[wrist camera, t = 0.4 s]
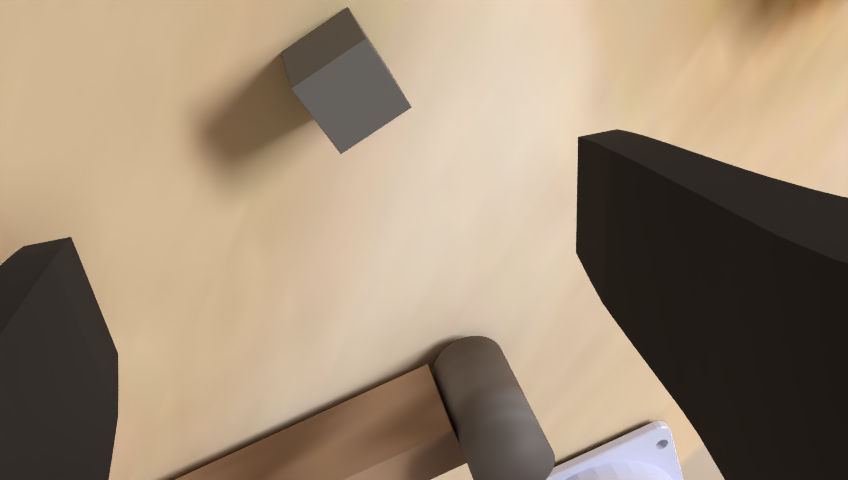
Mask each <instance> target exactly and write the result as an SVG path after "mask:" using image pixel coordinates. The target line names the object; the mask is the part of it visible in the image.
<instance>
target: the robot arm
mask: <svg viewBox="0 0 848 480" xmlns="http://www.w3.org/2000/svg"><path fill="white" fill-rule="evenodd" d="M576 253H577V255H578V257H579V259H580V261H581V263H582V265H583V267H584V269H585V271H586V273H587V275H588V277H589V279H590V281H591V283H592V285H593V286H594V288H595V290H596V292H597V294H598V295H599V297H600V299H601V301H602V303H603V304H604V306H605V307H606V308H607V310H608V311H609V313H610V314H611V315H612V317H613V318H614V320H615V321H616V322H617V324H618V325H619V326H620V328H621V329H622V331H623V332H624V333H625V335H626V336H627V337H628V339H629V340H630V341H631V343H632V344H633V345H634V347H635V348H636V349H637V351H638V352H639V353H640V355H641V356H642V357H643V359H644V360H645V361H646V363H647V364H648V365H649V367H650V368H651V369H652V371H653V372H654V373H655V375H656V376H657V377H658V379H659V380H660V381H661V383H662V384H663V385H664V387H665V388H666V390H667V391H668V392H669V394H670V395H671V396H672V398H673V399H674V400H675V402H676V403H677V404H678V406H679V407H680V408H681V410H682V411H683V412H684V414H685V415H686V417H687V418H688V420H689V421H690V423H691V424H692V426H693V427H694V429H695V430H696V432H697V433H698V435H699V436H700V438H701V440H702V441H703V443H704V445H705V446H706V448H707V450H708V451H709V453H710V455H711V456H712V458H713V460H714V462H715V463H716V465H717V467H718V468H719V470H720V472H721V474H722V475H723V477H724V479H725V480H848V198H846V197H841V196H837V195H833V194H829V193H825V192H821V191H817V190H813V189H809V188H806V187H802V186H799V185H795V184H792V183H788V182H785V181H781V180H778V179H774V178H770V177H767V176H764V175H761V174H758V173H754V172H751V171H748V170H745V169H742V168H739V167H736V166H733V165H730V164H727V163H724V162H721V161H718V160H715V159H712V158H709V157H706V156H703V155H700V154H697V153H694V152H691V151H688V150H685V149H683V148H680V147H677V146H674V145H671V144H668V143H665V142H662V141H659V140H656V139H652V138H649V137H646V136H643V135H639V134H636V133H632V132H628V131H623V130H611V131H606V132H601V133H596V134H591V135H586V136H581V137H578V177H577V232H576ZM117 419H118V353H117V350H116V348H115V345H114V343H113V340H112V338H111V335H110V333H109V330H108V328H107V325H106V323H105V320H104V318H103V315H102V313H101V310H100V308H99V305H98V303H97V300H96V298H95V295H94V293H93V290H92V288H91V285H90V283H89V280H88V278H87V275H86V273H85V270H84V268H83V266H82V263H81V261H80V258H79V256H78V253H77V251H76V248H75V246H74V243H73V241H72V238H71V237H68V238H63V239H58V240H53V241H48V242H43V243H38V244H33V245H28V246H23V247H22V248H21V249H19V250H18V251H17V252H15V253H14V254H13V255H12V256H11V257H9V258H8V259H7V260H6V261H5V262H4V263H3V264H2V265H1V266H0V480H108V479H109V473H110V466H111V460H112V453H113V446H114V440H115V433H116V426H117ZM546 480H683V476H682V472H681V468H680V464H679V460H678V457H677V453H676V449H675V445H674V441H673V437H672V434H671V430H670V429H669V427H668V426H667V424H666V423H665V422H663V421H655V422H652V423H650V424H648V425H645V426H643V427H641V428H639V429H637V430H635V431H632V432H630V433H628V434H626V435H624V436H622V437H619V438H617V439H615V440H613V441H611V442H608V443H606V444H604V445H602V446H600V447H598V448H595V449H593V450H591V451H589V452H587V453H584V454H582V455H580V456H578V457H576V458H574V459H571V460H569V461H567V462H565V463H563V464H560V465H558V466H556V467H554V468H553V469H552V472H551V473H550V475H549V476H548V478H547V479H546Z"/></svg>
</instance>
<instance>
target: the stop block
mask: <svg viewBox="0 0 848 480" xmlns="http://www.w3.org/2000/svg"><path fill="white" fill-rule="evenodd" d="M281 54H282V58H283V61H284V65H285V68H286V72H287V76H288V79H289V83H290V86H291V89H292V90H293V92H294V93H295V94H296V96H297V97H298V98H299V100H300V101H301V102H302V104H303V105H304V106H305V108H306V109H307V110H308V112H309V113H310V114H311V115H312V117H313V118H314V119H315V121H316V122H317V123H318V125H319V126H320V127H321V129H322V130H323V131H324V133H325V134H326V135H327V137H328V138H329V139H330V141H331V142H332V143H333V145H334V146H335V147H336V148H337V150H338V151H339V152H340V154H342V153H343V152H345V151H346V150H348V149H349V148H351V147H352V146H354V145H355V144H357V143H358V142H360V141H361V140H363V139H364V138H366V137H367V136H369V135H370V134H372V133H373V132H375V131H376V130H378V129H380V128H381V127H383V126H384V125H386V124H387V123H389V122H390V121H392V120H393V119H395V118H396V117H398V116H399V115H401V114H402V113H404V112H405V111H407V110H408V109H410V108H411V106H410V104H409V102H408V101H407V99H406V97H405V96H404V94H403V92H402V91H401V89H400V87H399V86H398V84H397V83H396V81H395V79H394V78H393V76H392V74H391V73H390V71H389V69H388V68H387V66H386V65H385V63H384V62H383V60H382V59H381V57H380V56H379V54H378V53H377V51H376V50H375V48H374V47H373V45H372V43H371V42H370V40H369V39H368V37H367V36H366V34H365V33H364V31H363V30H362V28H361V27H360V25H359V24H358V22H357V21H356V19H355V18H354V16H353V14H352V13H351V11H350V10H349V8H348V7H347V8H346V9H344V10H343V11H341V12H340V13H338V14H337V15H335V16H334V17H332V18H331V19H330V20H328V21H327V22H325V23H324V24H322V25H321V26H319V27H318V28H316V29H315V30H313V31H312V32H311V33H309V34H308V35H306V36H305V37H303V38H302V39H300V40H299V41H297V42H296V43H294V44H293V45H292V46H290V47H289V48H287V49H286V50H284V51H283V52H281Z"/></svg>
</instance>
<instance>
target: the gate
mask: <svg viewBox="0 0 848 480" xmlns="http://www.w3.org/2000/svg"><path fill="white" fill-rule="evenodd" d="M434 377H435V378H434ZM465 463H467V464H468V466H469V469H470V472H471V474H472V477H473V479H474V480H546V479H547V478H548V476H549V475H550V473H551V472H552V469H553V467H554V463H555V455H554V452H553V450H552V448H551V446H550V444H549V442H548V440H547V438H546V436H545V434H544V433H543V431H542V429H541V427H540V425H539V423H538V421H537V419H536V417H535V415H534V413H533V411H532V409H531V407H530V405H529V403H528V401H527V399H526V397H525V395H524V393H523V391H522V389H521V387H520V385H519V383H518V381H517V380H516V378H515V376H514V374H513V372H512V370H511V368H510V366H509V364H508V362H507V360H506V358H505V356H504V354H503V352H502V350H501V348H500V346H499V345H498V344H497V343H496V342H495V341H493V340H492V339H489V338H487V337H482V336H470V337H465V338H462V339H459V340H457V341H455V342H453V343H451V344H450V345H448V346H447V347H446V348H445V349H444V350H443V351H442V352H441V353H440V354H439V356H438V357H437V359H436V361H435V364H434V376H433V374H432V372H431V370H430V368H429V366H428V364H426V365H424V366H422V367H420V368H418V369H415V370H413V371H411V372H409V373H407V374H404V375H402V376H400V377H398V378H396V379H394V380H391V381H389V382H387V383H385V384H383V385H380V386H378V387H376V388H374V389H372V390H370V391H367V392H365V393H363V394H361V395H359V396H356V397H354V398H352V399H350V400H348V401H345V402H343V403H341V404H339V405H337V406H335V407H332V408H330V409H328V410H326V411H324V412H321V413H319V414H317V415H315V416H313V417H310V418H308V419H306V420H304V421H302V422H300V423H297V424H295V425H293V426H291V427H289V428H286V429H284V430H282V431H280V432H278V433H276V434H273V435H271V436H269V437H267V438H265V439H262V440H260V441H258V442H256V443H254V444H251V445H249V446H247V447H245V448H243V449H241V450H238V451H236V452H234V453H232V454H230V455H227V456H225V457H223V458H221V459H219V460H216V461H214V462H212V463H210V464H208V465H206V466H203V467H201V468H199V469H197V470H195V471H192V472H190V473H188V474H186V475H184V476H181V477H179V478H177V479H175V480H430V479H433V478H435V477H437V476H439V475H441V474H443V473H446V472H448V471H450V470H452V469H454V468H457V467H459V466H461V465H463V464H465Z"/></svg>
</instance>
